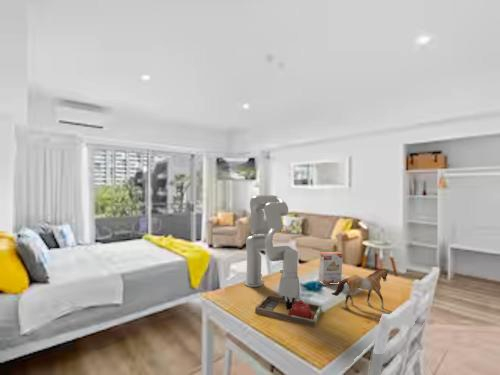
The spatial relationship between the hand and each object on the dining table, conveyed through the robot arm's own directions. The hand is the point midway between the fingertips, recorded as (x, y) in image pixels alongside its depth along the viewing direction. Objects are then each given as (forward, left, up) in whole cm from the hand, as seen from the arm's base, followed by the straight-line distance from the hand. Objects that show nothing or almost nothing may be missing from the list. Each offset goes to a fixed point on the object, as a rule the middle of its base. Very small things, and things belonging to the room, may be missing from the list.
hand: (288, 308), depth 140 cm
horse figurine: (-27, +32, -2) cm, 42 cm away
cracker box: (-51, +13, -2) cm, 53 cm away
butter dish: (+2, +7, -2) cm, 7 cm away
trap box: (0, 0, -2) cm, 2 cm away
